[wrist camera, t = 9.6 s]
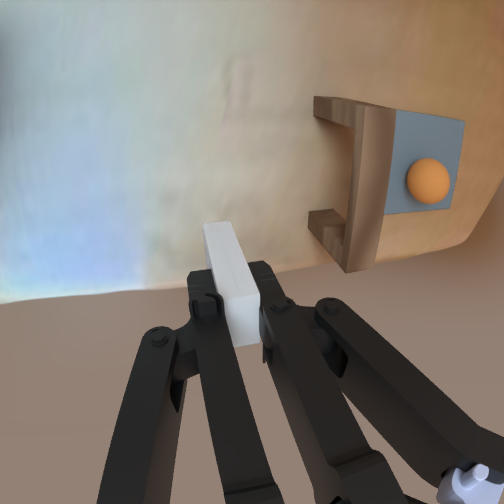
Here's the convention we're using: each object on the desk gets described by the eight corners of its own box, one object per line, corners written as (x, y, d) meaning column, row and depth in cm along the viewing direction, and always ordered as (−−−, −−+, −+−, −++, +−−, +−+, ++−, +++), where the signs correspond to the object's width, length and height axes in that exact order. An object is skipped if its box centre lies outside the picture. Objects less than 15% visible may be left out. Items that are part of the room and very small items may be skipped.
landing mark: (381, 214, 37) (382, 214, 37) (393, 109, 30) (394, 109, 30) (448, 207, 39) (449, 208, 39) (463, 121, 32) (464, 121, 32)
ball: (440, 201, 35) (401, 191, 37) (448, 160, 33) (409, 150, 34) (448, 214, 31) (404, 204, 32) (458, 168, 28) (413, 157, 30)
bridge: (307, 227, 35) (345, 273, 28) (313, 96, 28) (365, 106, 20) (331, 224, 36) (373, 268, 28) (340, 97, 28) (396, 109, 21)
